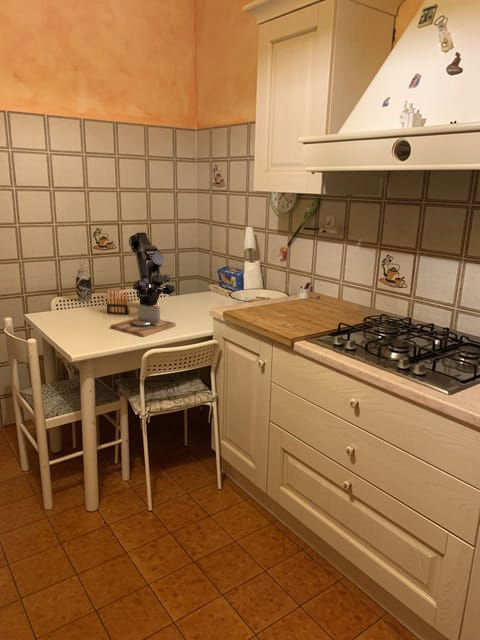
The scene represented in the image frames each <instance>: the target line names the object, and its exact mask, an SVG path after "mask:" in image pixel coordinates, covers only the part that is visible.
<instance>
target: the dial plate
mask: <svg viewBox="0 0 480 640" xmlns="http://www.w3.org/2000/svg"><path fill="white" fill-rule="evenodd" d="M136 318H138V316H137V317H133V318H130V319H127V320H123V321H120V322H116V323H112V324H111V325H110V329H112V330H116V331H119V332H123V333H128V334H129V335H134V336H137V337H141V338H146V337H148V336H151V335H153V334H154V335H155V334H157V333H160V332H163V331H166V330H168V329H171V328H175V327H176V325H177V323H176V322H172V321H169V320H164V319H161V318H160V323H158V324H156V323H155V324H153V325H151V326H134V325H132V320H133V319H136Z"/></svg>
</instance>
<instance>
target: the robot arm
mask: <svg viewBox="0 0 480 640" xmlns="http://www.w3.org/2000/svg"><path fill="white" fill-rule="evenodd" d="M128 245H129V246H130V250H131V251H132V252H133V253H134V254H135V259H136V263H137V269H138V274H139V279H138V280H136V281H135V283H133V285H132V289H133V290H135V291H136V297H137V298H138V299H139V304H143V305H149V306H157V304H158V300H159V298H160V295H161V294H163V295H171V294H172V293H174V292H175V291H176V287H175V286H174V285H173V284H166V282H167V283H169V282H170V280H171V279H170V278H171V277H170V274H164V275H162V273H161V268H162V267H163V264H164V262H165V256H164V255H163V254H162V252H161V251H160V249H158V248H157V246H155V245H153V244H152V243H151V241H150V239H149V238H148V235H147V233H146V231H145V232H144V231H142V232H135V234H133V235H131V236H129V238H128ZM147 261H148V262H147ZM163 284H165V285H164V286H163Z"/></svg>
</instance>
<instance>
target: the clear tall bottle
mask: <svg viewBox="0 0 480 640" xmlns="http://www.w3.org/2000/svg"><path fill="white" fill-rule="evenodd" d="M81 255H82V258H83V260H85V256H84V255H83V253H80V255H79V258H81ZM79 264H80V268H79V269H77V275H75V276H76V278H75V290H76V291H75V292H76V295H77V298H78V297H79V301H78V302H90V301H91V300H92V296H93V295H92V293H93V291H92V281H91V280H92V275H91V274H89V272H88V271H89V269H87V268H86V267H85V266H84V264H85V261H83V263H81V261H79Z"/></svg>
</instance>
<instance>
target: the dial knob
mask: <svg viewBox="0 0 480 640" xmlns="http://www.w3.org/2000/svg"><path fill="white" fill-rule="evenodd" d="M160 316H161V311H160V306H158V305H153V306H149V305H143V304H140V303H139V304H138V305H137V317H138V318H136V317H135V318H136V319H133V318H132V319H133V320H132V325H134V326H151V325H153V324H155V323H156V324H158V323H160V319H161V317H160Z"/></svg>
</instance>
